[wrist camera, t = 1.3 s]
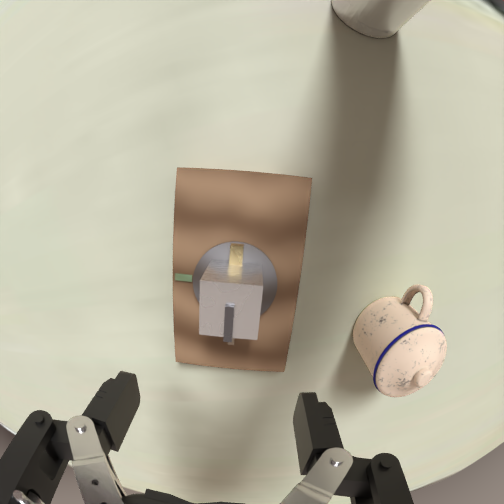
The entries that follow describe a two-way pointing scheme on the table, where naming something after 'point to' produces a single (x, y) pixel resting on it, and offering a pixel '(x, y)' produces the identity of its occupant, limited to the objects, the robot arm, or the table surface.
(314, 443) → the robot arm
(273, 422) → the table surface
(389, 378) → the teacup with lid
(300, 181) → the walnut base
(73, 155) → the table surface
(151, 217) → the table surface
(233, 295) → the white block
